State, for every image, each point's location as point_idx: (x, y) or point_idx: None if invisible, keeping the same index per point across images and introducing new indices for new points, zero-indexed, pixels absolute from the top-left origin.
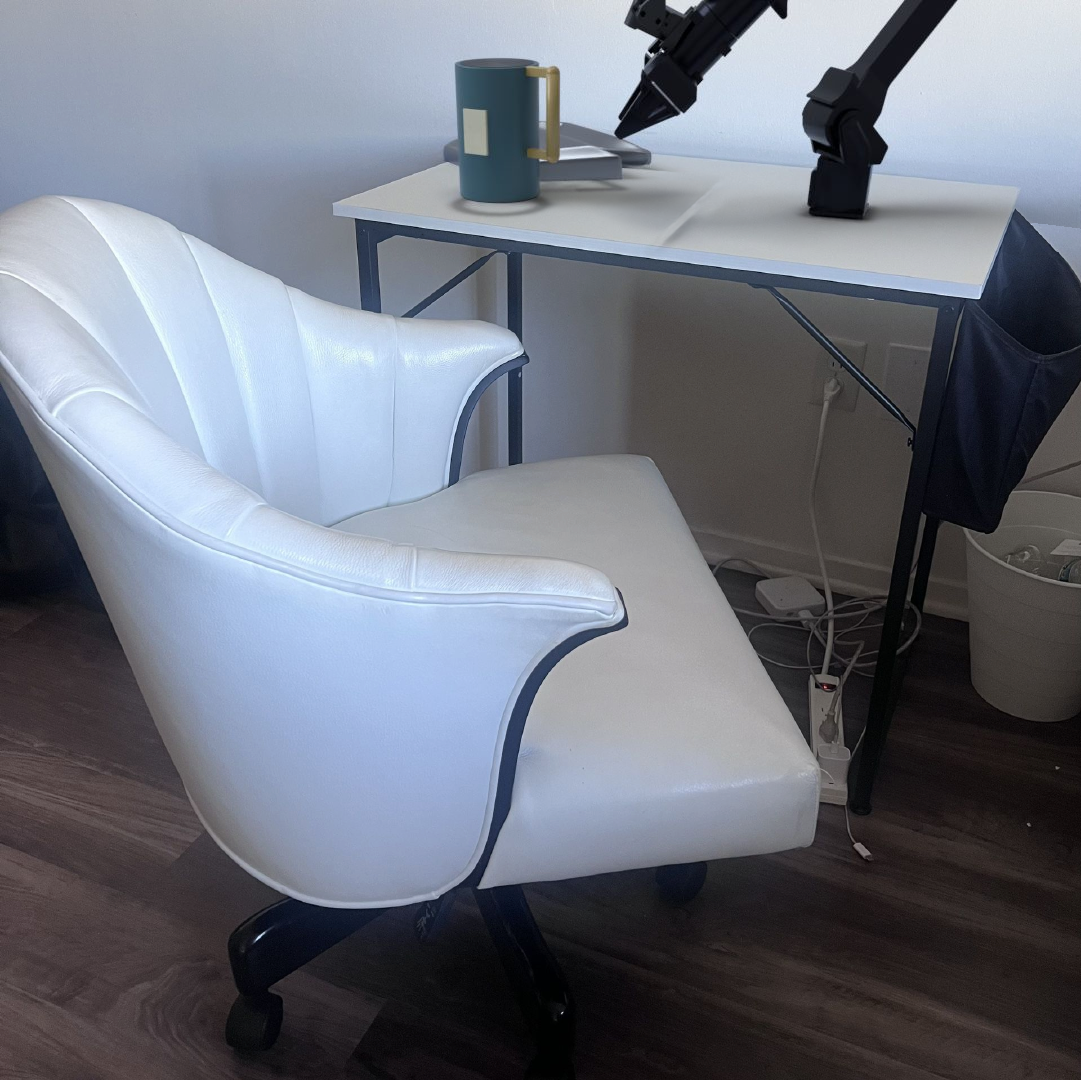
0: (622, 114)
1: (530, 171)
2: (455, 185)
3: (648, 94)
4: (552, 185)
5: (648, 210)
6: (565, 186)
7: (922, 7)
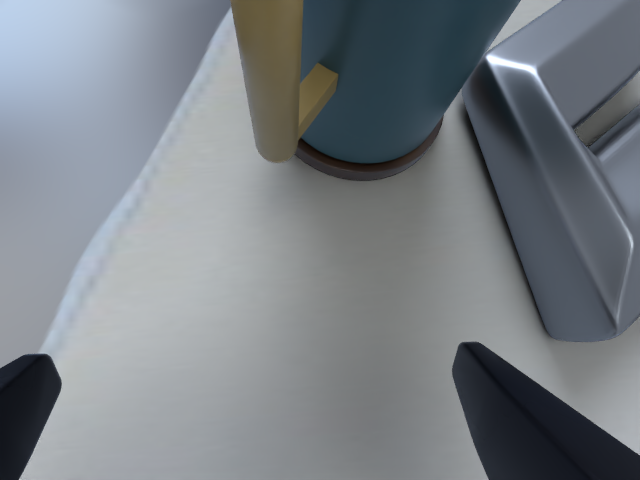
0: (471, 366)
1: (322, 113)
2: None
3: None
4: None
5: (347, 431)
6: None
7: None
